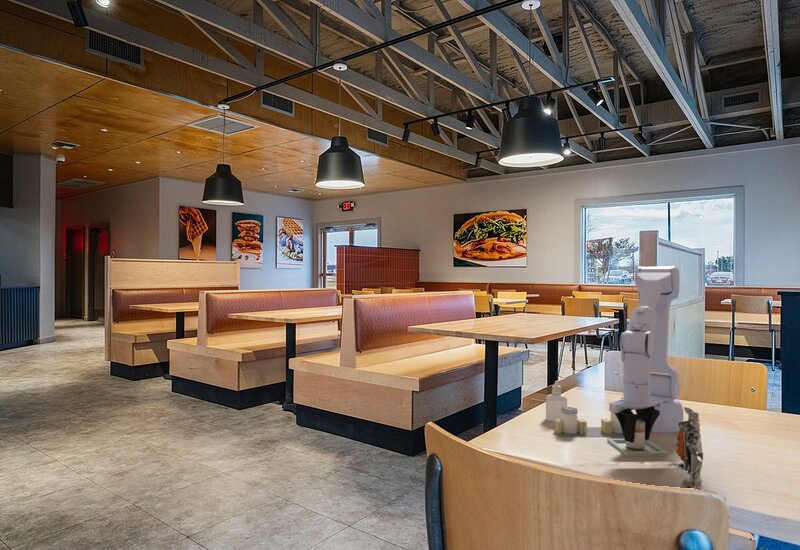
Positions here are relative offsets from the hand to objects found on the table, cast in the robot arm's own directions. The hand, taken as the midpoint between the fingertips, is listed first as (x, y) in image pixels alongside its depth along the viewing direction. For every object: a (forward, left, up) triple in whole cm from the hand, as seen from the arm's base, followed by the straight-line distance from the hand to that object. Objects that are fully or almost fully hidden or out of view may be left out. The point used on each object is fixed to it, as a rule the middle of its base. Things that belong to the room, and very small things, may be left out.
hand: (636, 440), depth 116 cm
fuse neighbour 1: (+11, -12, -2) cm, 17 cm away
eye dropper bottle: (+11, -23, -3) cm, 26 cm away
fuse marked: (0, 0, -2) cm, 2 cm away
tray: (0, 0, -3) cm, 3 cm away
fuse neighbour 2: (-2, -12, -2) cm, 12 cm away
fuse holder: (+5, -12, -3) cm, 13 cm away
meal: (-3, +15, -3) cm, 16 cm away
